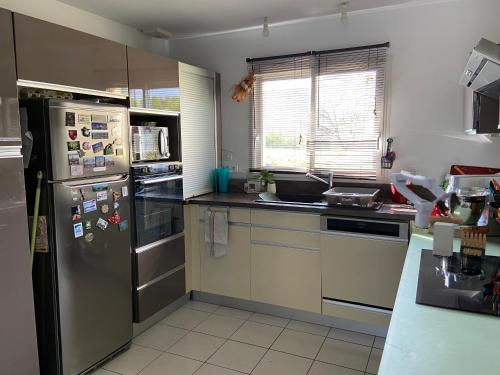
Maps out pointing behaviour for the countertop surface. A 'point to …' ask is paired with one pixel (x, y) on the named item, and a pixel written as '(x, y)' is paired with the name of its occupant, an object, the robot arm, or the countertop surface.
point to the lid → (445, 220)
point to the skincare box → (443, 238)
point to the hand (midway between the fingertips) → (454, 207)
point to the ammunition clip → (473, 245)
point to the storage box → (456, 231)
